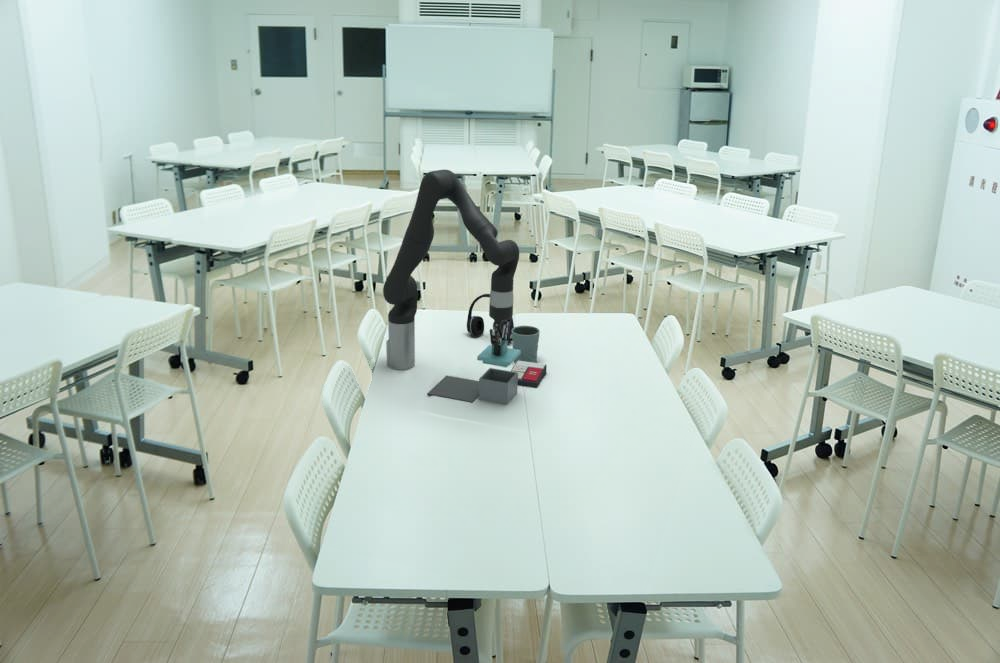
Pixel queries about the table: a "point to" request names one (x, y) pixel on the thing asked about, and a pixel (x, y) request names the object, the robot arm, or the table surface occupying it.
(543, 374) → the calculator
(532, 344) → the grey cup
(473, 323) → the headphones
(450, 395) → the mat
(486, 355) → the lid
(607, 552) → the table surface
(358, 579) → the table surface
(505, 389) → the box
